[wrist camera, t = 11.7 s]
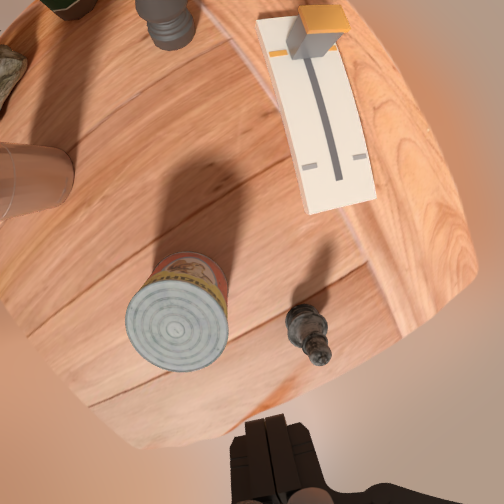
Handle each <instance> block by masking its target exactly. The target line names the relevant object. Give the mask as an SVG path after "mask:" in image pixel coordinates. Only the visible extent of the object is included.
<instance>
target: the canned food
mask: <svg viewBox="0 0 504 504" xmlns="http://www.w3.org/2000/svg"><path fill="white" fill-rule="evenodd" d="M227 298H228V284H227V280H226V277H225V275H224V273H223V271H222V270H221V268H220V267H219V266H218V265H217V264H216V263H215V262H214V261H213V260H212V259H210V258H208V257H207V256H205V255H202V254H200V253H196V252H189V251H185V252H178V253H174V254H172V255H169V256H168V257H166V258H164V259H163V260H162V261H161V262H160V263H159V264H158V265H157V266H156V268H155V270H154V271H153V273H152V274H151V275H150V277H149V278H148V279H147V281H146V282H145V283H144V285H143V286H142V287H141V289H140V290H139V291H138V292H137V293H136V294H135V295H134V297H133V298H132V299H131V301H130V303H129V305H128V307H127V311H126V316H125V325H126V331H127V334H128V337H129V339H130V342H131V343H132V345H133V347H134V348H135V349H136V351H137V352H138V353H139V354H140V355H141V356H142V357H143V358H144V359H146V360H147V361H148V362H150V363H151V364H153V365H155V366H157V367H159V368H162V369H165V370H168V371H173V372H192V371H197V370H200V369H202V368H205V367H207V366H209V365H210V364H212V363H213V362H214V361H215V360H216V359H217V358H218V357H219V356H220V355H221V354H222V352H223V350H224V348H225V346H226V344H227V340H228V322H227Z"/></svg>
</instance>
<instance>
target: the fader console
mask: <svg viewBox="0 0 504 504" xmlns="http://www.w3.org/2000/svg"><path fill="white" fill-rule="evenodd" d="M296 18H297V16H287V17H277V18H269V19H261V20H256V24H255V30H256V33H257V36H258V39H259V42H260V46H261V49H262V52H263V55H264V58H265V62H266V65H267V68H268V72H269V75H270V78H271V82H272V85H273V89H274V92H275V96H276V99H277V103H278V106H279V110H280V114H281V117H282V121H283V125H284V128H285V132H286V136H287V140H288V144H289V148H290V152H291V156H292V160H293V164H294V168H295V172H296V176H297V180H298V185H299V189H300V193H301V198H302V202H303V207H304V211H305V213H307V214H309V215H311V214H315V213H319V212H323V211H327V210H331V209H335V208H340V207H344V206H348V205H352V204H356V203H360V202H365V201H369V200H373V199H377V197H376V191H375V185H374V180H373V175H372V170H371V165H370V160H369V156H368V151H367V147H366V143H365V138H364V134H363V130H362V126H361V122H360V119H359V115H358V111H357V107H356V104H355V100H354V97H353V94H352V90H351V87H350V84H349V80H348V77H347V74H346V71H345V68H344V65H343V62H342V59H341V56H340V53H339V50H338V48H337V45H336V42H335V43H334V45H333V46H332V47H331V48H330V49H329V50H328V52H327V53H326V54H325V55H324V56H323V57H316V58H306V59H297V60H292V59H291V56H290V53H289V50H288V47H287V44H286V40H287V38H288V35H289V33H290V31H291V29H292V27H293V25H294V22H295V20H296Z"/></svg>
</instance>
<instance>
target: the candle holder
mask: <svg viewBox="0 0 504 504" xmlns="http://www.w3.org/2000/svg"><path fill="white" fill-rule="evenodd" d="M135 5H136V10H137V12H138V14H139V16H140V17H141V18H143V19H144V20H146V21H147V26H148V32H149V34H150V36H151V38H152V40H153V41H154V43H155V45H156V46H157V47H159V48H160V49H162V50H167V51H172V50H178V49H180V48H183V47H185V46H186V45H187V44H188V43H189V42H191V41H192V39H193V37H194V35H195V26H194V21H193V17H192V15H191V14H190V12H189V11H188V9H187V7H186V5H187V0H135Z"/></svg>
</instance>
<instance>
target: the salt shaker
mask: <svg viewBox="0 0 504 504" xmlns="http://www.w3.org/2000/svg"><path fill="white" fill-rule="evenodd" d="M285 323H286V327H287V329H288V338H289V340H290V342H291V343H292V344H293V345H294V346H296V347H299V348H302V350H303V352H304V353H305V354H306V355H308V356H309V359H310V361H311V362H312V363H313V364H314V365H316V366H323V365H325V364H327V363H328V362H329V361H330V359H331V356H332V354H331V350H330V348H329V347H328V339H327V337H326V334H327V330H328V325H327V321H326V320H325V318H324V317H323V316H322V315H320V314H319V313H318V311H317V309H316V308H314V307H313V306H311V305H308V304H301V305H297V306H295V307H294V308H292V309H291V310H290V311H289V312H288V314H287V316H286V320H285Z"/></svg>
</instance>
